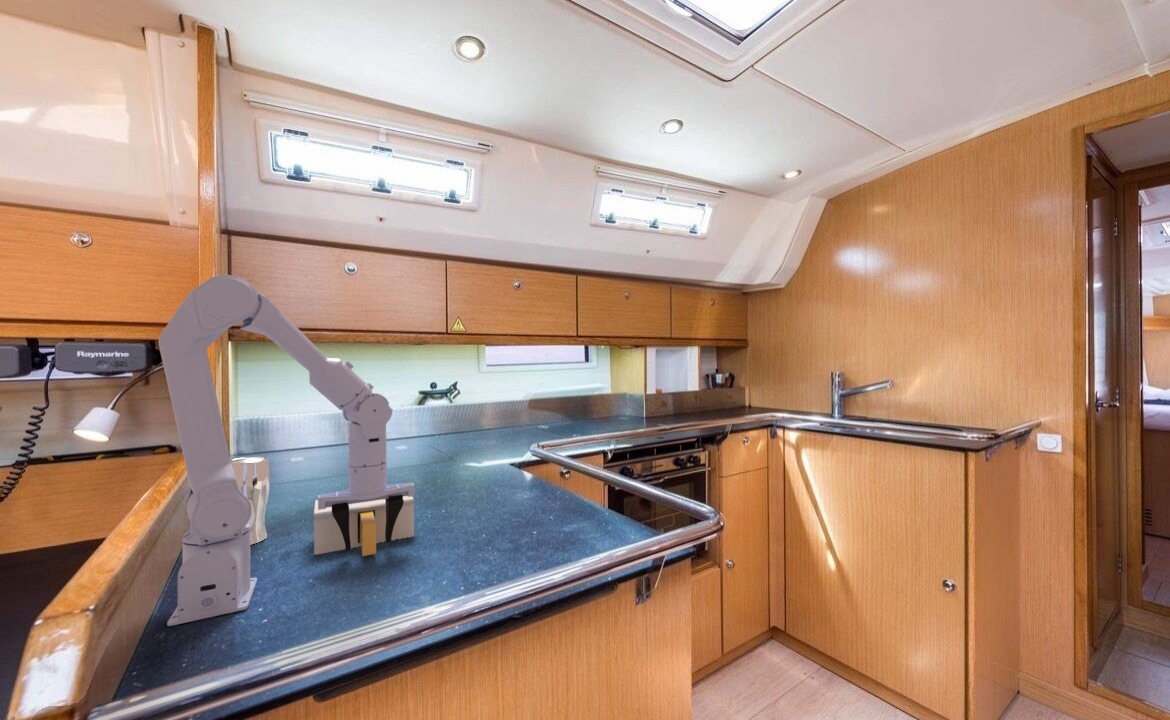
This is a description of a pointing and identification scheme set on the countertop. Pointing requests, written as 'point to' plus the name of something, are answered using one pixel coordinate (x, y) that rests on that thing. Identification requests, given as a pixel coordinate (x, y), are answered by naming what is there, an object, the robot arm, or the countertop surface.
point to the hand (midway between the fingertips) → (368, 544)
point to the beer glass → (254, 491)
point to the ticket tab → (367, 532)
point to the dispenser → (331, 535)
